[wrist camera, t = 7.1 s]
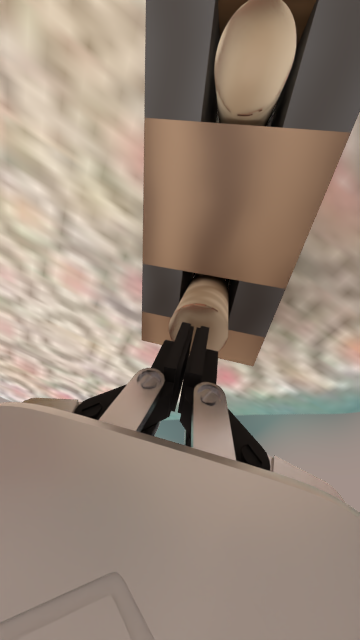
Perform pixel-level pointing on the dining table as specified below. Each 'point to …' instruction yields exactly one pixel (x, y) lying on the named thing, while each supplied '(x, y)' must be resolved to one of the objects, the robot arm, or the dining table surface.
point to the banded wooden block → (238, 162)
